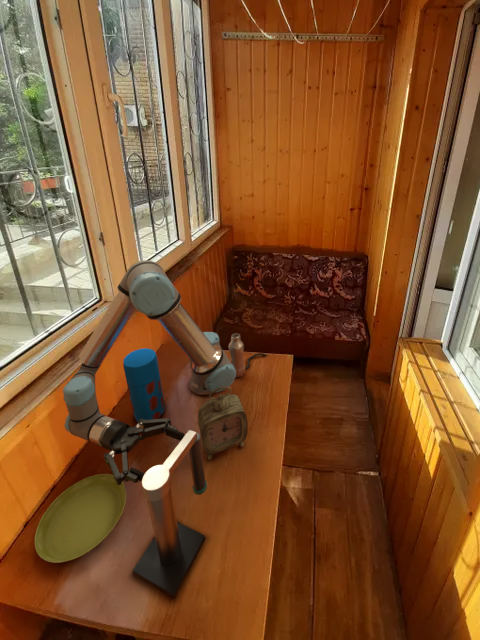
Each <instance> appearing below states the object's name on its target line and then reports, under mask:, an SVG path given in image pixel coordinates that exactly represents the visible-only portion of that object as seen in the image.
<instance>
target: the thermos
mask: <svg viewBox="0 0 480 640" xmlns="http://www.w3.org/2000/svg"><path fill="white" fill-rule="evenodd" d="M122 364H123V365H122V367H123V371H124V376H125V381H126V385H127V386H126V387H127V391H128V395H129V400H130V405H131V409H132V413H133V416H134V419H135V421H136V422H137V423H139V422H138V420H139V419H145V420H151V419H160V417H161V416H162V415H163V414H164V412H165V399H164V393H163V392H164V391H163V385H162V380H161V374H160V367H159V361H158V356H157V353H156V351H155V350H154V349H151V348H147V347H144V348H138V349H135V350H133V351H130V352H129V353H128V354H127V355H125V356H124V358H123V363H122Z"/></svg>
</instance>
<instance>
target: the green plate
mask: <svg viewBox="0 0 480 640" xmlns="http://www.w3.org/2000/svg"><path fill="white" fill-rule="evenodd" d="M126 502H127V489H126V486H125V483H124V481H123V482H122V484H121V485H117V483H116V481H115V478H114V476H113V474H109V473H101V474H99V473H98V474H94V475H91V476H88V477H85V478H83V479H81V480H79V481H77V482H75V483H73V485H71V486H69V487H67V488H66V489H65V490H64V491H63V492H62V493H61V494H59V495H58V496H57V497H56V499H54V500H53V501H52V502H51V504H50V505H49V506H48V507H47V509H46V510H45V512H44V513H43V515H42V516H41V518H40V520H39V523H38V525H37V527H36V529H35V534H34V548H35V551H36V553H37V555H38V556H39V558H40V559H42V560H44V561H45V562H48V563H52V564H53V563H55V564H58V563H66V562H71V561H73V560H76V559H78V558H80V557H83V556H84V555H86V554H88V553H89V552H90V551H92V550H94V549H95V548H96V547H98V546H99V545H100V544H101V543H102V542H103V541H104V540H105V539H106V538H107V537H108V536H109V534H110V533H111V532H112V531H113V529H114V528H115V526H116V525H117V524H118V522H119V520H120V518H121V517H122V514H123V512H124V509H125V507H126Z"/></svg>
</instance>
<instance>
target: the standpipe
mask: <svg viewBox="0 0 480 640" xmlns="http://www.w3.org/2000/svg"><path fill="white" fill-rule="evenodd" d="M146 502H147V506H148V511H149V516H150V520H151V526H152V530H153V535H154V537H153V538H152V540H151V541H150V543H149V544H148V546H147V547H146V549H145V551H143V553H142V555H141V557H140V558H139V559H138V561H137V563H136V565H134V568H133V569H132V575H133V576H135V577H136V578H138V579H140V580H142V581H143V582H145V583H146V584H149V585H150V586H152V587H153V588H156V589H157V590H158V591H160V592H162V593H164V594H165V595H167V596H168V597H171V598H173V599H174V600H175V599H176V597H177V595H178V593H179V591H180V590H181V588H182V586H183V584H184V582H185V580H186V579H187V575H188V574H189V572H190V570H191V569H192V566H193V565H194V563H195V560H196V559H197V556H198V555H199V553H200V551H201V549H202V547H203V545H204V543H205V541H206V535H204V534H203V533H201V532H199V531H197V530H195V529H193V528H191V527H188V526H187V525H184V524H182V523H181V522H179V521H177V515H176V511H175V505H174V498H173V493H172V488H170V490H169V492H168V493H167V494H166V495H165V496H164V497H163V498H162V499H160V500H157V501H149V500H147V499H146Z"/></svg>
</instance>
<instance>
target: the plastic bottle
mask: <svg viewBox="0 0 480 640" xmlns="http://www.w3.org/2000/svg"><path fill="white" fill-rule="evenodd" d="M241 338H242V337H241V334H240V333H237V332H236V333H232V334H231V337H230V342H229V343H228V351H229V356H230V362H231V363H232V365H233V366H234V367H235V370H236V377H235V378H240V377H242V376H244V375H245V374H246V369H245V367H246V364H245V360H244V351H245V345H244V342H243V341H242V339H241Z"/></svg>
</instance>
